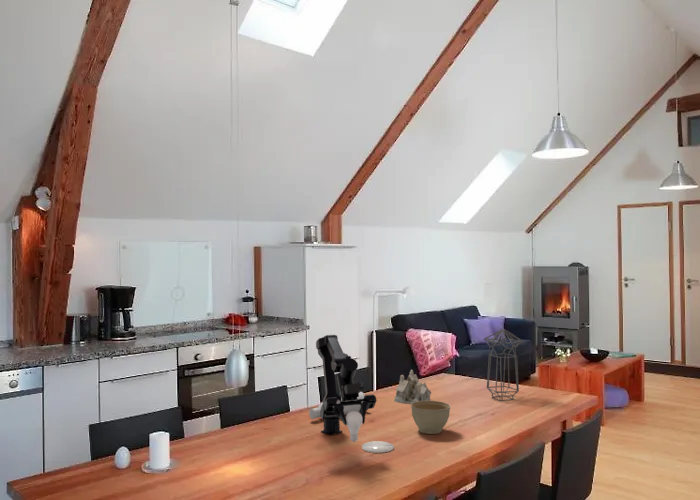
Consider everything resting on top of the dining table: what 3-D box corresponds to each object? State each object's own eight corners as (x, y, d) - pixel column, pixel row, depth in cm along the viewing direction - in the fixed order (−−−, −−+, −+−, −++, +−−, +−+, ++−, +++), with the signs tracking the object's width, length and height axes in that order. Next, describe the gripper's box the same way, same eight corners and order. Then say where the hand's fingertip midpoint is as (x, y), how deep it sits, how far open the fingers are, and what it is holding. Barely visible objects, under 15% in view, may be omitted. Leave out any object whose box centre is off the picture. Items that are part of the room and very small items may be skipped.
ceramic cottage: (390, 399, 304) (391, 369, 304) (417, 396, 312) (419, 368, 311) (406, 408, 290) (408, 377, 290) (434, 405, 298) (436, 375, 297)
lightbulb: (347, 444, 213) (347, 413, 213) (343, 439, 219) (343, 409, 219) (364, 443, 214) (364, 412, 214) (359, 438, 221) (359, 407, 221)
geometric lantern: (481, 396, 310) (481, 328, 310) (508, 394, 314) (508, 327, 315) (497, 403, 295) (497, 331, 295) (525, 401, 299) (525, 330, 300)
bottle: (354, 400, 289) (303, 413, 270) (361, 386, 285) (309, 399, 266) (365, 414, 283) (314, 428, 264) (372, 400, 279) (320, 413, 260)
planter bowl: (449, 438, 240) (449, 410, 240) (409, 435, 243) (409, 408, 244) (451, 426, 256) (451, 401, 256) (413, 424, 259) (412, 399, 259)
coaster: (355, 447, 229) (355, 446, 229) (377, 440, 237) (377, 439, 237) (377, 455, 220) (377, 453, 220) (400, 447, 228) (400, 446, 228)
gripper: (325, 375, 218) (333, 414, 207) (374, 372, 223) (384, 410, 212) (321, 392, 226) (328, 430, 215) (368, 389, 231) (377, 426, 220)
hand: (354, 424), depth 215 cm, fingers closed on lightbulb, 6 cm apart
